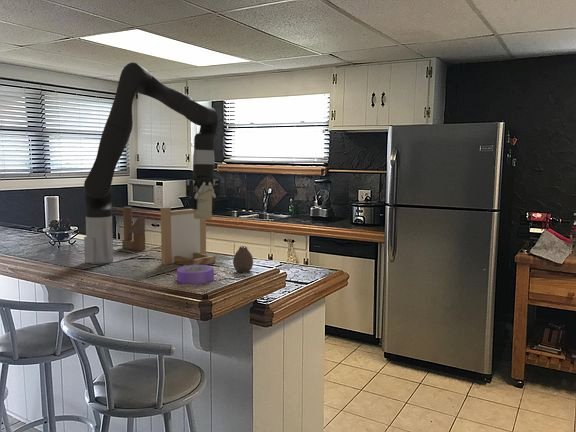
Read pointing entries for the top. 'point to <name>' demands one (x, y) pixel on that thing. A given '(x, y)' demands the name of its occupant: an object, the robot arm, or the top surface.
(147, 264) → the top surface
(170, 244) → the headboard panel
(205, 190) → the skincare box
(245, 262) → the vase
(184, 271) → the masking tape
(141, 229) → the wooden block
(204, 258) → the rail slot
